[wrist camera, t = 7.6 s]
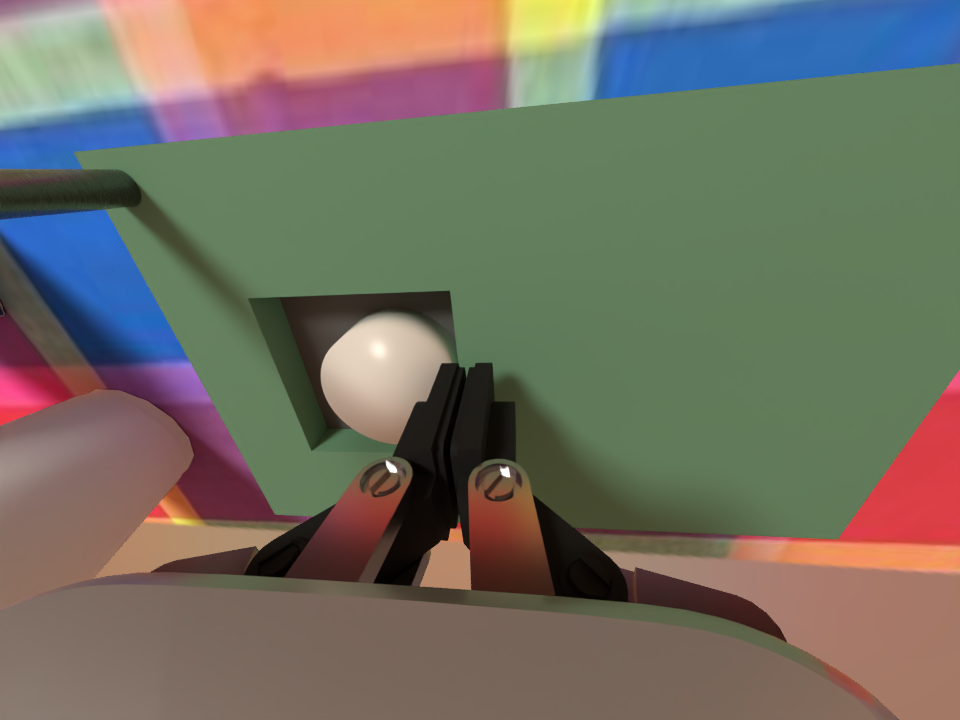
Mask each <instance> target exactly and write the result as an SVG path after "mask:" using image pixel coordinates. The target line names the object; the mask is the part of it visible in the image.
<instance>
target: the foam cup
mask: <svg viewBox="0 0 960 720" xmlns="http://www.w3.org/2000/svg"><path fill="white" fill-rule="evenodd" d="M193 457H194V453H193V450H192V447H191V443H190V440H189V437H188V436H187V435H186V434H185V433H184V431H183V430H182V429H181V428H180V427H179V425H178V424H177V423H176V422H175V421H174V419H173V418H171V417H170V416H169V415H167V414H166V413H164V412H163V411H161V410H160V409H159V408H157V407H156V406H154V405H153V404H151V403H150V402H148V401H147V400H144V399H141V398H139V397H136V396H134V395H131V394H128V393H126V392H123V391H120V390H103V389H95V390H93V391H91V392H89V393H87V394H85V395H78V396H76V397H73V398H71V399H68V400H66V401H63V402H60V403H58V404H55V405H53V406H50V407H47V408H45V409H42V410H40V411H37V412H35V413H32V414H29V415H27V416H24V417H22V418H19V419H17V420H14V421H11V422H9V423H6V424H4V425H1V426H0V610H1V609H4V608H6V607H8V606H10V605H13V604H15V603H17V602H19V601H22V600H24V599H27V598H29V597H32V596H35V595H37V594H40V593H43V592H46V591H49V590H53V589H56V588H60V587H63V586H66V585H70V584H73V583H77V582H81V581H86V580H91V579H94V578H95V577H96V575H97V574H98V573H99V572H100V571H101V569H102V568H103V567H104V566H105V565H106V564H107V563H108V561H109V560H110V559H111V558H112V557H113V556H114V555H115V553H116V552H117V551H118V550H119V549H120V547H121V546H122V545H123V544H124V543H125V542H126V541H127V539H128V538H129V537H130V536H131V535H132V533H133V532H134V531H135V530H136V529H137V528H138V527H139V526H140V524H141V523H142V522H143V521H144V520H145V519H146V517H147V516H148V515H149V514H150V513H151V512H152V510H153V509H154V508H155V507H156V506H157V505H158V504H159V502H160V501H161V500H162V499H163V498H164V497H165V495H166V494H167V493H168V492H169V491H170V490H171V488H172V487H173V486H174V485H175V484H176V483H177V482H178V480H179V479H180V478H181V476H182V474H183V473H184V472H185V471H186V470H187V469H188V468H189V466H190V464H191V462H192V459H193Z"/></svg>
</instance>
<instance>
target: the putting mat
mask: <svg viewBox="0 0 960 720" xmlns="http://www.w3.org/2000/svg"><path fill="white" fill-rule="evenodd" d="M74 153H75V155H76V157H77V159H78V161H79V162H80V164H81V166H82V168H83V169H0V220H2V219H12V218H22V217H33V216H43V215H53V214H64V213H74V212H85V211H95V210H105V209H106V211H107V213H108V215H109V216H110V218H111V220H112V222H113V224H114V225H115V227H116V229H117V231H118V233H119V234H120V236H121V238H122V240H123V242H124V243H125V245H126V247H127V249H128V251H129V252H130V254H131V256H132V258H133V260H134V261H135V263H136V265H137V267H138V269H139V270H140V272H141V274H142V276H143V278H144V279H145V281H146V283H147V285H148V287H149V289H150V290H151V292H152V294H153V296H154V298H155V299H156V301H157V303H158V305H159V307H160V308H161V310H162V312H163V314H164V316H165V317H166V319H167V321H168V323H169V325H170V326H171V328H172V330H173V332H174V334H175V335H176V337H177V339H178V341H179V343H180V344H181V346H182V348H183V350H184V352H185V353H186V355H187V357H188V359H189V361H190V362H191V364H192V366H193V368H194V370H195V371H196V373H197V375H198V377H199V379H200V380H201V382H202V384H203V386H204V388H205V389H206V391H207V393H208V395H209V397H210V398H211V400H212V402H213V404H214V406H215V407H216V409H217V411H218V413H219V415H220V416H221V418H222V420H223V422H224V424H225V425H226V427H227V429H228V431H229V433H230V434H231V436H232V438H233V440H234V442H235V443H236V445H237V447H238V449H239V451H240V452H241V454H242V456H243V458H244V460H245V461H246V463H247V465H248V467H249V469H250V470H251V472H252V474H253V476H254V478H255V479H256V481H257V483H258V485H259V487H260V488H261V490H262V492H263V494H264V496H265V498H266V499H267V501H268V503H269V505H270V507H271V508H272V510H273V512H274V514H275V515H294V516H315V515H317V514H319V513H321V512H322V511H324V510H326V509H327V508H329V507H331V506H333V505H334V504H336V503H337V502H338V501H339V499H340V498H341V496H342V495H343V494H344V492H345V491H346V489H347V488H348V487H349V485H350V484H351V482H352V481H353V480H354V478H355V477H356V475H357V474H358V473H359V472H360V471H361V470H362V468H363V467H365V466H366V465H368V464H369V463H371V462H373V461H375V460H377V459H380V458H384V457H392V456H393V454H394V451H395V449H396V447H397V444H389V443H383V442H380V441H376V440H374V439H371V438H368V437H366V436H364V435H362V434H360V433H359V432H357V431H355V430H354V429H352V428H351V427H350V426H348V425H347V424H346V423H345V422H343V421H342V420H341V419H340V418H339V417H338V415H337V414H336V413H335V412H334V411H333V409H332V408H331V406H330V405H329V403H328V401H327V399H326V397H325V395H324V392H323V389H322V385H321V367H322V363H323V360H324V358H325V355H326V354H327V352H328V351H329V349H330V348H331V347H332V346H333V345H334V344H335V343H336V342H337V341H338V340H339V339H340V338H341V337H342V336H343V335H344V334H345V333H346V332H347V331H349V330H350V329H351V328H352V327H353V326H354V325H355V324H356V323H357V322H358V321H359V320H360V319H362V318H363V317H364V316H366V315H368V314H370V313H372V312H374V311H377V310H381V309H386V308H404V309H409V310H413V311H417V312H420V313H422V314H424V315H427V316H429V317H430V318H432V319H434V320H435V321H437V322H438V323H439V324H441V325H442V326H443V327H444V328H445V329H446V330H447V331H448V332H449V333H450V334H451V335H452V337H453V338H454V339H455V341H456V347H457V356H458V363H459V366H460V367H465V370H466V378H467V374H468V370H469V367H475V363H492V364H493V378H494V395H495V401H515V408H516V463H517V464H518V465H520V466H521V467H522V468H523V469H524V470H525V471H526V473H527V476H528V478H529V482H530V486H531V491H532V494H533V495H534V496H536V497H537V498H538V499H539V500H540V501H542V502H543V503H544V504H545V505H546V506H548V507H549V508H550V509H551V510H553V511H554V512H555V513H556V514H557V515H559V516H560V517H561V518H562V519H563V520H565V521H566V522H567V523H568V524H570V525H571V526H572V527H573V528H590V529H613V530H636V531H659V532H681V533H704V534H727V535H750V536H773V537H795V538H818V539H838V538H839V537H840V535H841V534H842V532H843V531H844V530H845V528H846V527H847V526H848V524H849V523H850V521H851V520H852V519H853V517H854V516H855V514H856V513H857V512H858V510H859V509H860V507H861V506H862V505H863V503H864V502H865V500H866V499H867V498H868V496H869V495H870V493H871V492H872V491H873V489H874V488H875V487H876V485H877V484H878V482H879V481H880V480H881V478H882V477H883V475H884V474H885V473H886V471H887V470H888V468H889V467H890V466H891V464H892V463H893V461H894V460H895V459H896V457H897V456H898V454H899V453H900V452H901V450H902V449H903V448H904V446H905V445H906V443H907V442H908V441H909V439H910V438H911V436H912V435H913V434H914V432H915V431H916V429H917V428H918V427H919V425H920V424H921V422H922V421H923V420H924V418H925V417H926V415H927V414H928V413H929V411H930V410H931V408H932V407H933V406H934V404H935V403H936V402H937V400H938V399H939V397H940V396H941V395H942V393H943V392H944V390H945V389H946V388H947V386H948V385H949V383H950V382H951V381H952V379H953V378H954V376H955V375H956V374H957V372H958V371H959V369H960V63H959V64H949V65H939V66H929V67H919V68H909V69H899V70H889V71H879V72H869V73H859V74H849V75H839V76H829V77H819V78H809V79H799V80H789V81H779V82H769V83H759V84H749V85H739V86H729V87H719V88H709V89H699V90H689V91H679V92H669V93H659V94H649V95H639V96H629V97H619V98H609V99H599V100H589V101H579V102H569V103H559V104H550V105H540V106H530V107H520V108H510V109H500V110H490V111H480V112H470V113H460V114H450V115H440V116H430V117H420V118H410V119H400V120H390V121H380V122H370V123H360V124H350V125H340V126H330V127H320V128H310V129H300V130H290V131H280V132H270V133H260V134H250V135H240V136H230V137H220V138H210V139H200V140H190V141H180V142H170V143H160V144H150V145H140V146H130V147H120V148H110V149H100V150H90V151H80V152H74ZM458 523H460V517H459V518H458Z"/></svg>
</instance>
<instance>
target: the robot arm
mask: <svg viewBox="0 0 960 720" xmlns="http://www.w3.org/2000/svg"><path fill="white" fill-rule="evenodd" d="M459 517H460V524H461V528H462V535H463V542H464V544H465V545H466V546H467V548H468V549H469V550H470V566H471V568H470V569H471V590H462V589H447V588H433V587H420V584H421V581H422V579H423V576H424V573H425V571H426V568H427V565H428V563H429V559H430V555H431V551H430V549H431V548H433V547H434V546H435V545H436V544H438V543H439V542H440V540H445V541H448V538H449V533H450V528H456V527H457V524H458V518H459ZM0 720H899V719H898V718H897V717H896V716H895V715H894V714H893V713H892V712H890V711H889V710H888V709H887V708H886V707H885V706H884V705H883V704H882V703H881V702H880V701H879V700H878V699H877V698H875V697H874V696H873V695H872V694H871V693H869V692H868V691H867V690H866V689H864V688H863V687H862V686H860V685H859V684H858V683H856V682H855V681H853V680H852V679H850V678H849V677H848V676H846V675H845V674H843V673H841V672H840V671H838V670H837V669H835V668H833V667H832V666H830V665H828V664H827V663H825V662H823V661H821V660H820V659H818V658H816V657H814V656H813V655H811V654H809V653H807V652H805V651H803V650H801V649H799V648H797V647H795V646H793V645H791V644H789V643H787V641H786V639H785V637H784V635H783V633H782V631H781V629H780V628H779V627H778V625H777V624H776V623H775V622H774V621H773V620H772V619H771V617H770V616H769V615H768V614H767V613H766V612H764V611H763V610H762V609H760V608H759V607H758V606H756V605H755V604H754V603H752V602H751V601H748V600H746V599H743V598H741V597H739V596H737V595H733V594H730V593H726V592H723V591H719V590H715V589H712V588H708V587H705V586H701V585H697V584H694V583H690V582H687V581H683V580H679V579H676V578H672V577H669V576H665V575H661V574H658V573H654V572H651V571H647V570H643V569H639V568H635V571H634V572H633V571H629V570H625V569H621V568H619V567H618V566H617V565H616V564H615V563H614V562H613V561H612V559H611V558H610V557H608V556H607V555H606V554H605V553H604V552H602V551H601V550H600V549H599V548H598V547H596V546H595V545H594V544H593V543H591V542H590V541H589V540H588V539H587V538H585V537H584V536H583V535H582V534H581V533H579V532H578V531H577V530H576V529H574V528H573V527H572V526H571V525H570V524H568V523H567V522H566V521H565V520H563V519H562V518H561V517H560V516H559V515H557V514H556V513H555V512H554V511H553V510H551V509H550V508H549V507H548V506H546V505H545V504H544V503H543V502H542V501H540V500H539V499H538V498H537V497H536V496H534V495H533V494H532V491H531V486H530V482H529V478H528V476H527V473H526V471H525V470H524V469H523V468H522V467H521V466H520V465H518V464H517V463H516V408H515V401H495V395H494V378H493V364H492V363H475V367H469V370H468V374H467V378H466V370H465V367H460V366H459V363H442V364H441V366H440V368H439V371H438V373H437V376H436V379H435V381H434V384H433V386H432V389H431V391H430V394H429V396H428V399H427V401H418V402H416V404H415V405H414V408H413V410H412V412H411V415H410V417H409V419H408V421H407V424H406V426H405V428H404V431H403V433H402V435H401V437H400V440H399V442H398V444H397V447H396V449H395V451H394V454H393V456H392V457H384V458H380V459H377V460H375V461H373V462H371V463H369V464H368V465H366V466H365V467H363V468H362V470H361V471H360V472H359V473H358V474H357V475H356V477H355V478H354V480H353V481H352V482H351V484H350V485H349V487H348V488H347V489H346V491H345V492H344V494H343V495H342V496H341V498H340V499H339V501H338V502H337V503H336V504H334V505H333V506H331V507H329V508H327V509H326V510H324V511H322V512H321V513H319V514H317V515H315V516H314V517H312V518H310V519H309V520H307V521H305V522H303V523H302V524H300V525H298V526H297V527H295V528H293V529H291V530H290V531H288V532H286V533H285V534H283V535H281V536H279V537H278V538H276V539H274V540H273V541H271V542H270V543H268V544H267V545H266V546H264V547H263V548H262V549H261V550H260V551H259V550H258V549H257V548H256V546H255V547H249V548H244V549H238V550H232V551H227V552H221V553H215V554H210V555H204V556H198V557H192V558H187V559H181V560H176V561H172V562H169V563H167V564H164V565H162V566H160V567H158V568H157V569H155V570H153V571H151V572H149V573H131V574H122V575H114V576H106V577H101V578H96V579H91V580H86V581H81V582H77V583H73V584H70V585H66V586H63V587H60V588H56V589H53V590H49V591H46V592H43V593H40V594H37V595H35V596H32V597H29V598H27V599H24V600H22V601H19V602H17V603H15V604H13V605H10V606H8V607H6V608H4V609H1V610H0Z"/></svg>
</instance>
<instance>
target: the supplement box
mask: <svg viewBox="0 0 960 720" xmlns="http://www.w3.org/2000/svg"><path fill="white" fill-rule="evenodd" d="M4 315H5V312H4V310H3V307H2V304H1V302H0V317H3V316H4Z"/></svg>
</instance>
